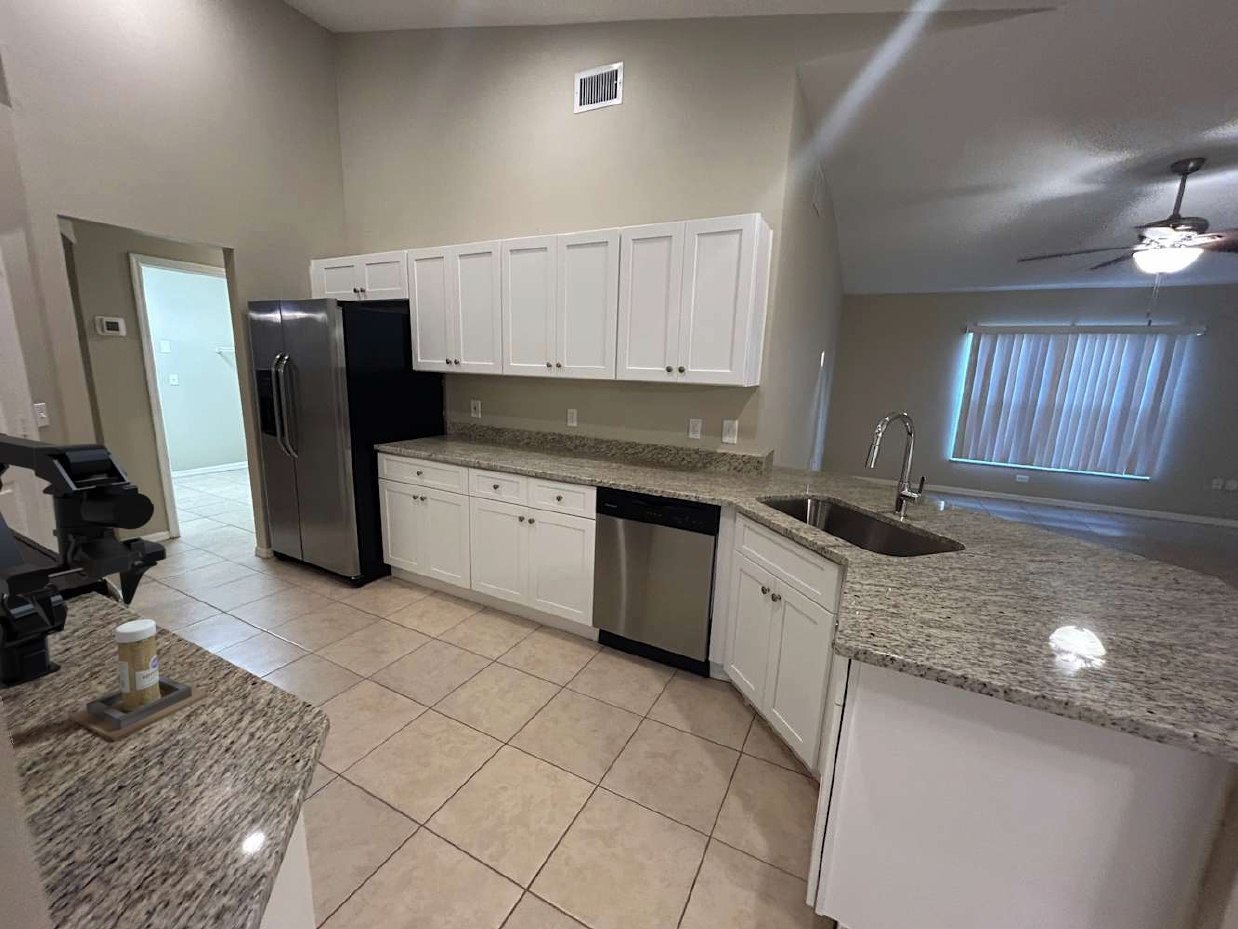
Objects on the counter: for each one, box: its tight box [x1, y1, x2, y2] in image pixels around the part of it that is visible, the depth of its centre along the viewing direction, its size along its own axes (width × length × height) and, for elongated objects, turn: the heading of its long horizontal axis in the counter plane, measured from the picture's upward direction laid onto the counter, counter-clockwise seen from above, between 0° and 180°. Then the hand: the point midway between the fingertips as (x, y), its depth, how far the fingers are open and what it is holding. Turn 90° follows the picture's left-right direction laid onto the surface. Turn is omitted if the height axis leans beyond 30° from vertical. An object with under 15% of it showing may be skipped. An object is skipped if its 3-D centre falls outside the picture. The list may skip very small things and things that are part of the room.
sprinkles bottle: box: [114, 618, 161, 711], centre depth 78 cm, size 5×5×14 cm
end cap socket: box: [68, 674, 209, 743], centre depth 79 cm, size 12×12×2 cm
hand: (91, 614), depth 81 cm, fingers open, 9 cm apart
